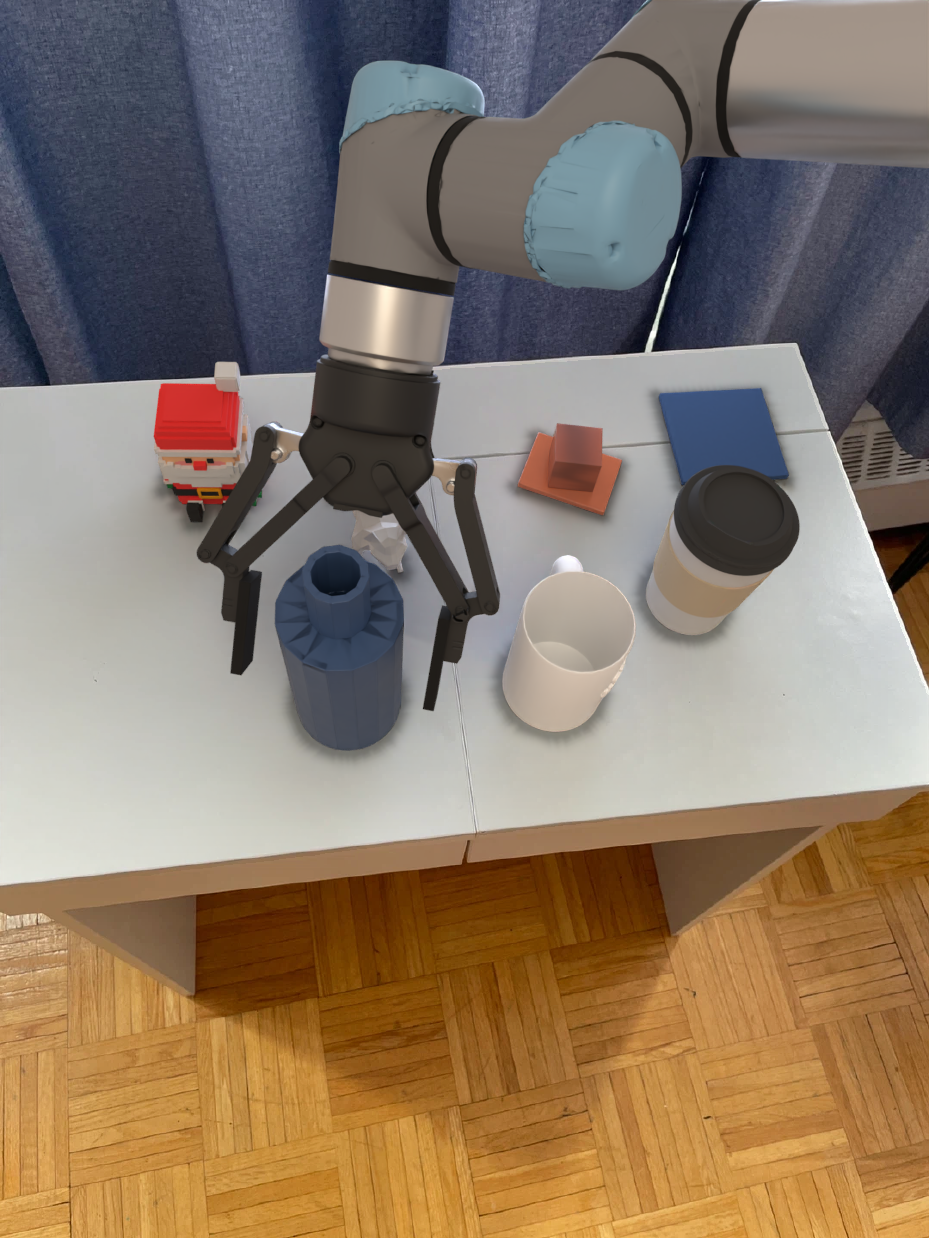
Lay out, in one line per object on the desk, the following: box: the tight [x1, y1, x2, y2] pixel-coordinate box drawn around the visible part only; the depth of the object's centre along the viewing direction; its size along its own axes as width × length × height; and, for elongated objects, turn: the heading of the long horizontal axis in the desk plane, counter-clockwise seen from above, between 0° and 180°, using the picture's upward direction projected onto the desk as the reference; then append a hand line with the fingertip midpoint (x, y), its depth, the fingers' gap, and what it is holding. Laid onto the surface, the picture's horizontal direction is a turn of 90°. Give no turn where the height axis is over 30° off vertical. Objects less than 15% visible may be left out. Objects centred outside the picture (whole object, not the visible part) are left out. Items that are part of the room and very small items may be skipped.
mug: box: [501, 554, 637, 733], centre depth 70 cm, size 8×12×12 cm
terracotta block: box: [548, 422, 604, 492], centre depth 81 cm, size 4×4×4 cm
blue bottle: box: [274, 544, 405, 752], centre depth 63 cm, size 8×8×21 cm
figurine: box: [153, 361, 263, 523], centre depth 75 cm, size 8×7×12 cm
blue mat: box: [658, 387, 790, 486], centre depth 87 cm, size 10×10×1 cm
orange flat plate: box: [517, 431, 623, 516], centre depth 83 cm, size 8×6×1 cm
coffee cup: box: [645, 465, 801, 636], centre depth 72 cm, size 9×9×15 cm
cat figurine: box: [351, 510, 408, 574], centre depth 74 cm, size 4×20×14 cm, turn 14°
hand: (335, 685), depth 63 cm, fingers open, 12 cm apart
